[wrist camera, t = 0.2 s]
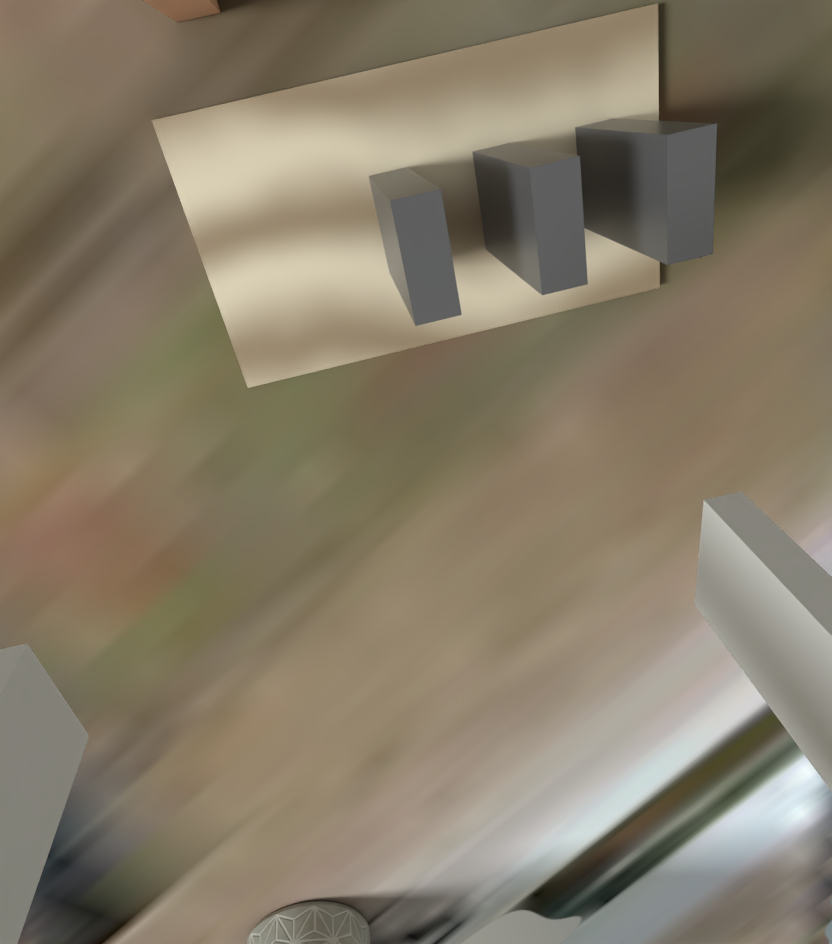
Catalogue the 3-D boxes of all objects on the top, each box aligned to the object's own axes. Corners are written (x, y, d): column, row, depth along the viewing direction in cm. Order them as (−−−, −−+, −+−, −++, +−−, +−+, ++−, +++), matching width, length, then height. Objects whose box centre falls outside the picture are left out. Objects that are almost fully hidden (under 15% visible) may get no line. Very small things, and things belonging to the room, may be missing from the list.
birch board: (154, 120, 31) (151, 120, 31) (652, 4, 32) (658, 3, 32) (248, 384, 38) (248, 387, 38) (655, 285, 39) (659, 287, 39)
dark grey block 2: (581, 226, 36) (667, 265, 28) (575, 127, 34) (667, 135, 25) (616, 218, 36) (712, 253, 28) (612, 118, 34) (716, 123, 25)
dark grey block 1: (389, 273, 36) (415, 326, 27) (368, 176, 33) (389, 200, 25) (424, 264, 36) (461, 314, 27) (406, 167, 33) (440, 188, 25)
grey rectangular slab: (485, 249, 36) (542, 295, 27) (472, 151, 34) (529, 167, 25) (520, 241, 36) (587, 284, 28) (510, 142, 34) (579, 155, 25)
